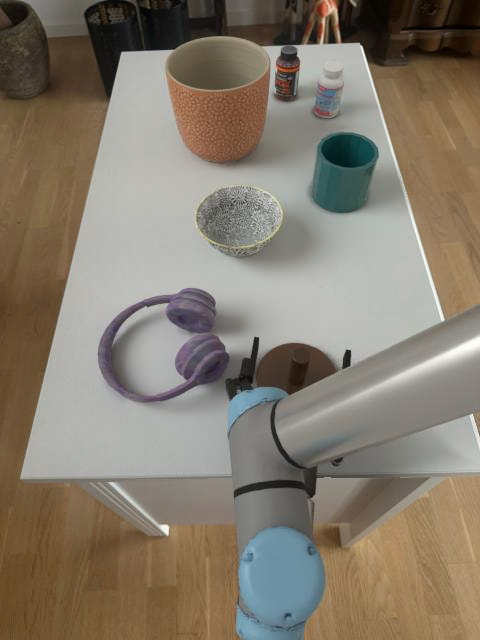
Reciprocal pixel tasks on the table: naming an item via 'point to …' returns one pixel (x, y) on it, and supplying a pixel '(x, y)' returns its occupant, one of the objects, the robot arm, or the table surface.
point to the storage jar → (343, 171)
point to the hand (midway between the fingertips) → (301, 347)
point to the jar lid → (293, 367)
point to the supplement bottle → (287, 74)
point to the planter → (219, 95)
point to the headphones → (194, 356)
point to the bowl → (239, 219)
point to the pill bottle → (329, 90)
